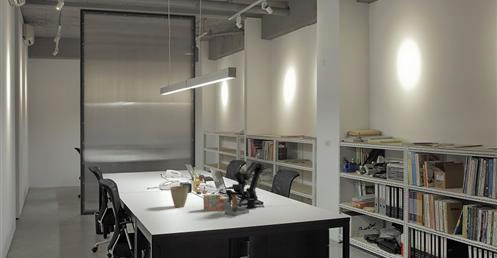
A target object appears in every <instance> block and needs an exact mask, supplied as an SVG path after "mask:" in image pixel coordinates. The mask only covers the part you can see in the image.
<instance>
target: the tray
mask: <svg viewBox="0 0 497 258" xmlns="http://www.w3.org/2000/svg"><path fill="white" fill-rule="evenodd" d="M238 211H239V212H233V211H232V208H231V209H228V210H224V214H226V215H231V216H236V217H237V216H241V215H245V214H250V209H249V208H241V207H238Z"/></svg>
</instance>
